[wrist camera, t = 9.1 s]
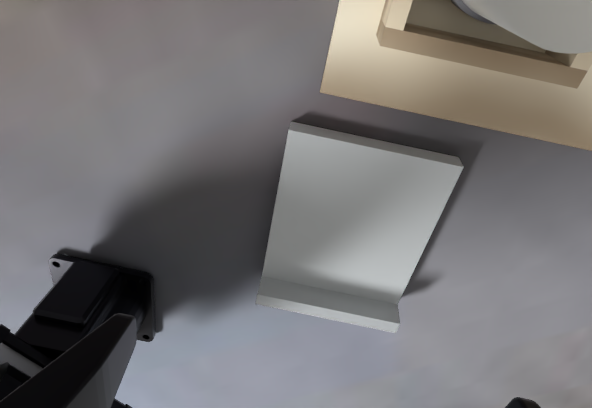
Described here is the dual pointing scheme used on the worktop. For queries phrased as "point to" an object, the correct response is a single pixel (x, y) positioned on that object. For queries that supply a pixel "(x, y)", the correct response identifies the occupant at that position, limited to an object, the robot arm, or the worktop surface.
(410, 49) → the socket board
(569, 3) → the white capsule peg
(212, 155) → the worktop surface
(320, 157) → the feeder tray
